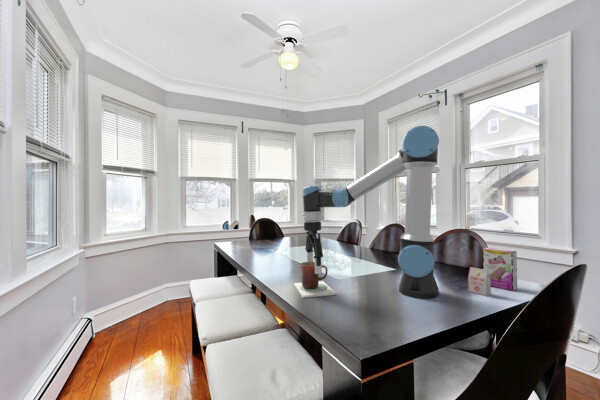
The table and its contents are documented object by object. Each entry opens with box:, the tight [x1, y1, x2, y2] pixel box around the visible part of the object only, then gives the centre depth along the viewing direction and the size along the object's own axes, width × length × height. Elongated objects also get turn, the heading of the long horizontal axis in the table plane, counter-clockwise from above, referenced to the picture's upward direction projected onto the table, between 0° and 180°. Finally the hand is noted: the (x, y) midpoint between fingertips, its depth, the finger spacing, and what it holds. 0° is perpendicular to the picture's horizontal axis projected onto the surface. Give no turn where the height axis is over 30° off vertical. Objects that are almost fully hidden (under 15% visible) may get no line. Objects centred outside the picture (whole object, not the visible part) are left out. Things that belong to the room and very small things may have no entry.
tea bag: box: [467, 266, 492, 297], centre depth 108 cm, size 4×7×10 cm, turn 28°
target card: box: [293, 280, 337, 299], centre depth 116 cm, size 18×14×1 cm
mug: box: [299, 261, 329, 289], centre depth 116 cm, size 12×9×10 cm
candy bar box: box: [482, 247, 518, 292], centre depth 116 cm, size 11×5×16 cm, turn 34°
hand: (314, 270), depth 116 cm, fingers open, 13 cm apart
